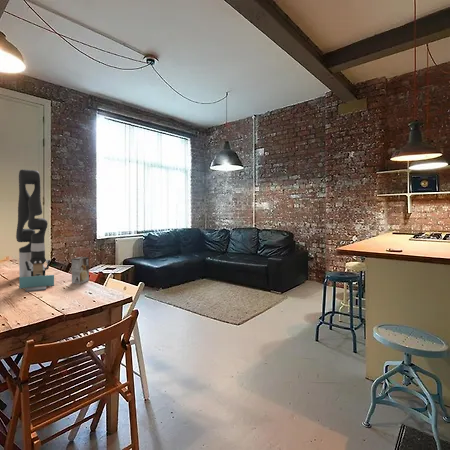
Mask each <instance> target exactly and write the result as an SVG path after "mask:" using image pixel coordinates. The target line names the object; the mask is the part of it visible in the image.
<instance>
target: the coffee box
mask: <svg viewBox="0 0 450 450" xmlns="http://www.w3.org/2000/svg"><path fill="white" fill-rule="evenodd" d="M89 263H90V257H89V256H77V257H73V258H71V284H78V285H81V284H83V283H86V282H89V280H90V264H89Z"/></svg>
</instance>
